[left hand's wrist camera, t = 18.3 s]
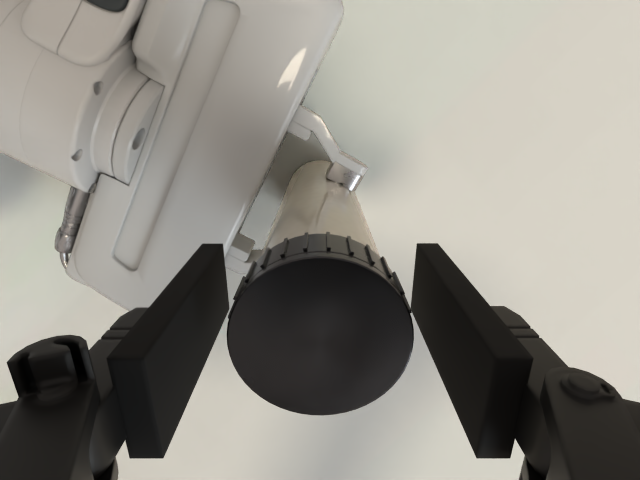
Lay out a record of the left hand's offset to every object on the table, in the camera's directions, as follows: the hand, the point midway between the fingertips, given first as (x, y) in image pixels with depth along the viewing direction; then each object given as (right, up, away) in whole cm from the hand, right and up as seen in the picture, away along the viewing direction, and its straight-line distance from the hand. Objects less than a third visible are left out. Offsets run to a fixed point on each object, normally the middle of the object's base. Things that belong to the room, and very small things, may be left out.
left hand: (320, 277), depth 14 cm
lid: (0, -1, -4) cm, 4 cm away
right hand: (+1, +2, +7) cm, 8 cm away
